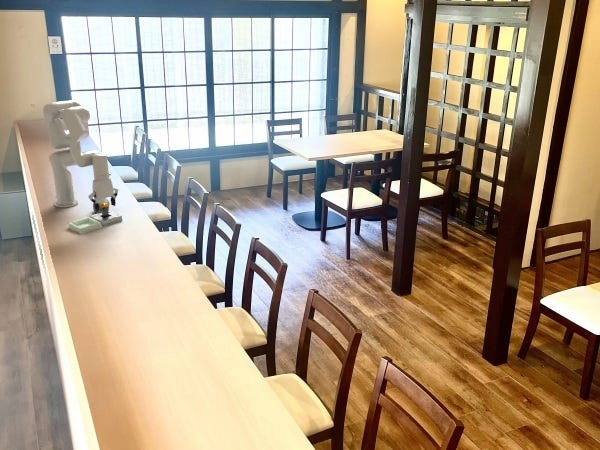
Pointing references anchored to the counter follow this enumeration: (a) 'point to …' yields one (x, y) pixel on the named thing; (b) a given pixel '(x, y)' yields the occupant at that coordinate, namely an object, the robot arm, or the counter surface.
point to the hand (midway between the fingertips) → (105, 207)
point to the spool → (99, 205)
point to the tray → (84, 225)
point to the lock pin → (105, 209)
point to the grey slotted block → (107, 218)
